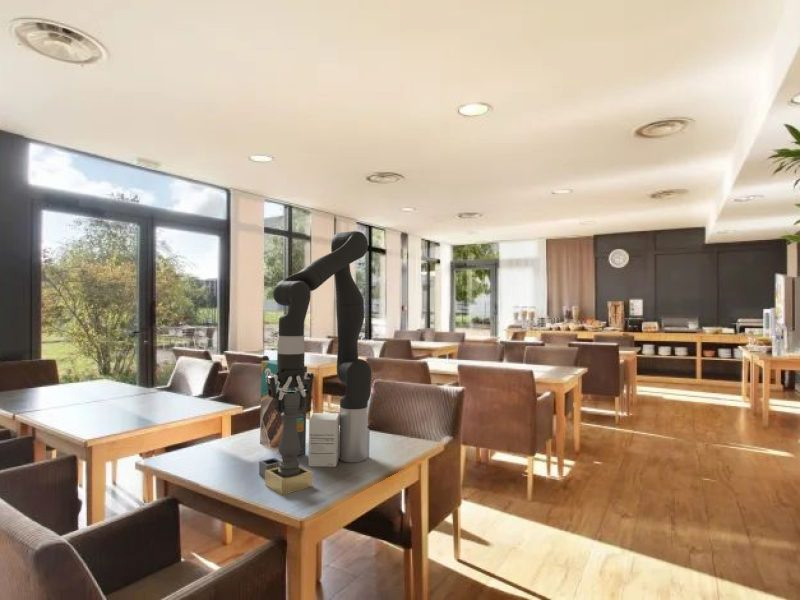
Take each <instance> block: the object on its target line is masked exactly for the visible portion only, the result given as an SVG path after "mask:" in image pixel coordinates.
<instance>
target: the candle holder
mask: <svg viewBox="0 0 800 600" xmlns="http://www.w3.org/2000/svg"><path fill="white" fill-rule="evenodd" d="M282 400H283V413H281V417H282V419H283V431H282V435H281V439H280V443H279V449H278V450H279V453H280V454H279V453H278V454H279V455H280V457H281V460H280V461H281V462H280V463H279V467H280V468H279V469H278V475H279V476H280V477H282V478H286V477H290V476H294V475H297V474H300V467H298V466H299V465H300V462H299V460H298V457H297V455H298V454H299V452H300V442H299V437H298V433H297V417H299V413H298V412H297V410H298V408H299V404H300V392H299V391H286V392H285V394H284V396H283V398H282Z"/></svg>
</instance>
